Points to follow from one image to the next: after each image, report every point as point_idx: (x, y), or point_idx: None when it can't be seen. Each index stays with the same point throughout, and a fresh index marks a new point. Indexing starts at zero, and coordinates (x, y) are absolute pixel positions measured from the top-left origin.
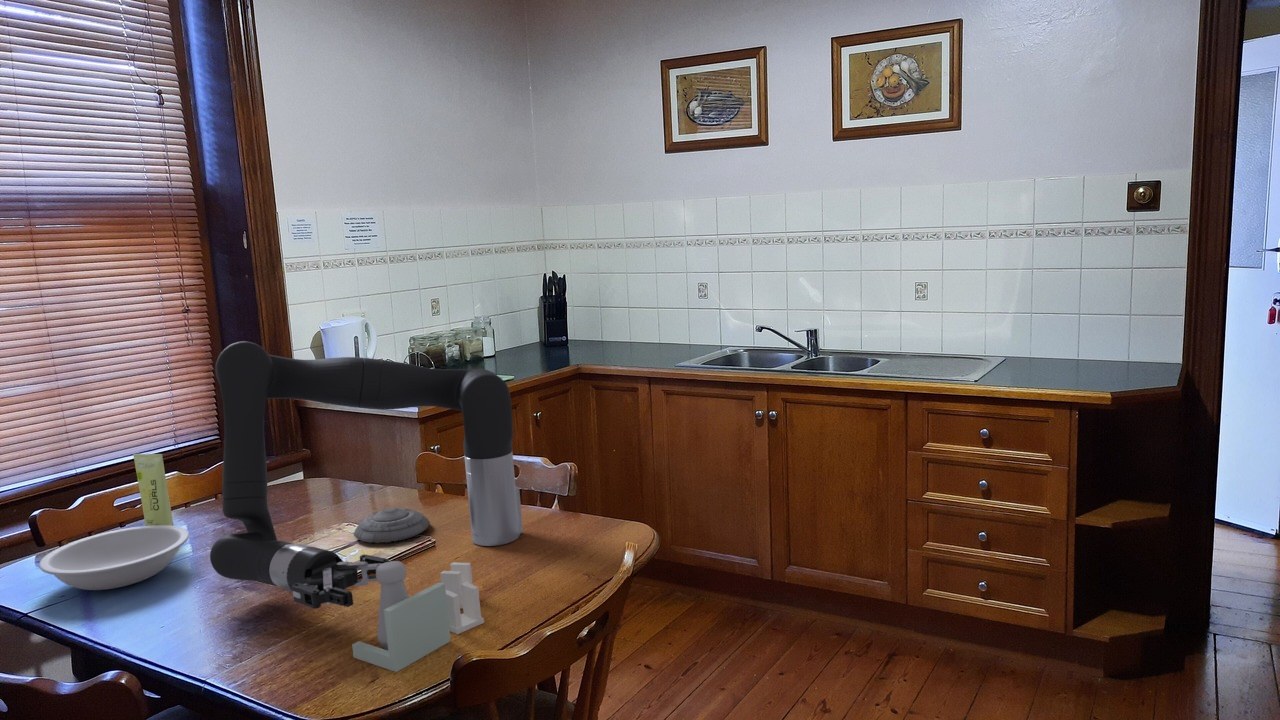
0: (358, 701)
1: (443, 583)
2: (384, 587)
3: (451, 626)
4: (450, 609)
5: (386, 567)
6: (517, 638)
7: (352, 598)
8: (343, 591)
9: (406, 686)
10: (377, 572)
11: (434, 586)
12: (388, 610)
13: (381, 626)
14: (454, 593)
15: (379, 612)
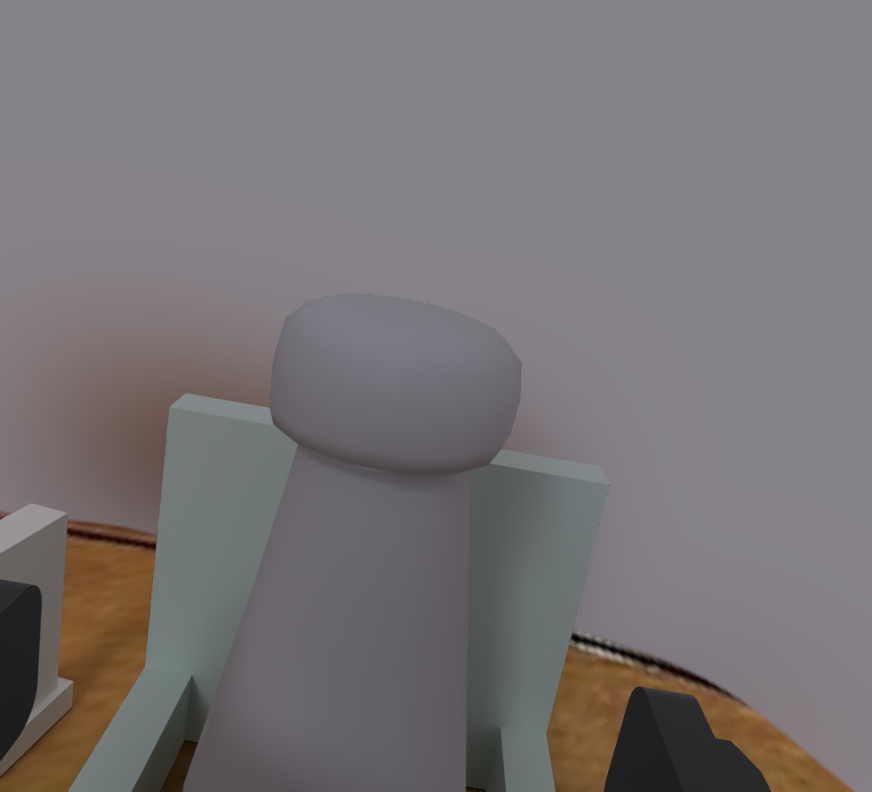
0: (774, 772)
1: (182, 396)
2: (464, 480)
3: (29, 716)
4: None
5: (466, 317)
6: (93, 537)
7: (619, 740)
8: (705, 736)
9: (573, 684)
10: (517, 369)
11: (234, 411)
12: (598, 470)
13: (464, 757)
14: (4, 519)
15: (423, 737)
